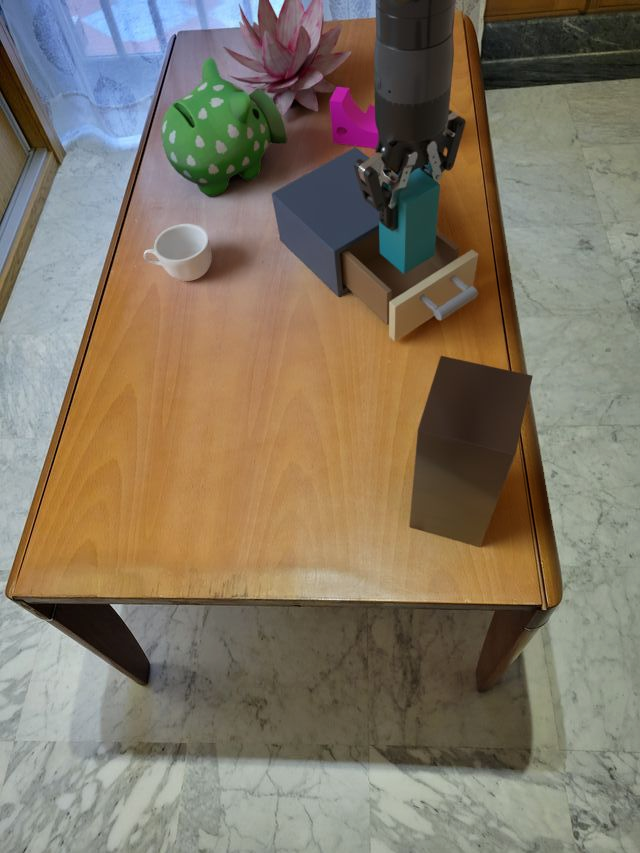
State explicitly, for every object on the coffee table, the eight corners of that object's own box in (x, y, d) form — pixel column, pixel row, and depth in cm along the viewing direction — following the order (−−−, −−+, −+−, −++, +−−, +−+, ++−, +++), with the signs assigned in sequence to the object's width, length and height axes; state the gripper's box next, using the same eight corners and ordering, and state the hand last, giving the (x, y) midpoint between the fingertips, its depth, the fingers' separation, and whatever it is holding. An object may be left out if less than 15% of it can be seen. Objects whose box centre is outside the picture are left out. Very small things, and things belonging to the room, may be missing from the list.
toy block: (429, 131, 106) (432, 87, 99) (420, 154, 103) (422, 112, 96) (344, 119, 109) (341, 77, 103) (332, 142, 106) (329, 100, 100)
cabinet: (419, 247, 93) (422, 198, 85) (338, 297, 89) (334, 251, 82) (357, 195, 99) (355, 146, 92) (280, 240, 96) (271, 193, 88)
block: (434, 255, 81) (440, 184, 72) (404, 274, 80) (406, 204, 71) (409, 234, 84) (411, 162, 74) (379, 253, 82) (378, 182, 73)
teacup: (218, 248, 96) (209, 220, 92) (215, 286, 92) (206, 259, 88) (153, 254, 97) (142, 227, 92) (148, 292, 93) (136, 265, 88)
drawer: (494, 309, 85) (502, 272, 79) (415, 362, 81) (418, 328, 75) (408, 237, 93) (409, 199, 87) (333, 283, 89) (329, 246, 84)
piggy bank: (297, 172, 103) (285, 84, 91) (198, 219, 100) (171, 133, 87) (257, 129, 110) (240, 40, 97) (163, 171, 107) (132, 85, 94)
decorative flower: (365, 116, 109) (362, 25, 96) (244, 144, 108) (225, 56, 95) (335, 50, 120) (329, -40, 107) (225, 75, 119) (205, -13, 106)
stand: (494, 484, 73) (533, 375, 54) (480, 547, 69) (515, 454, 50) (426, 466, 75) (440, 355, 56) (408, 527, 71) (417, 430, 52)
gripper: (378, 127, 58) (380, 261, 73) (494, 63, 62) (474, 203, 76) (330, 92, 62) (341, 227, 76) (443, 33, 65) (433, 173, 80)
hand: (408, 214), depth 76 cm, fingers closed on block, 5 cm apart
